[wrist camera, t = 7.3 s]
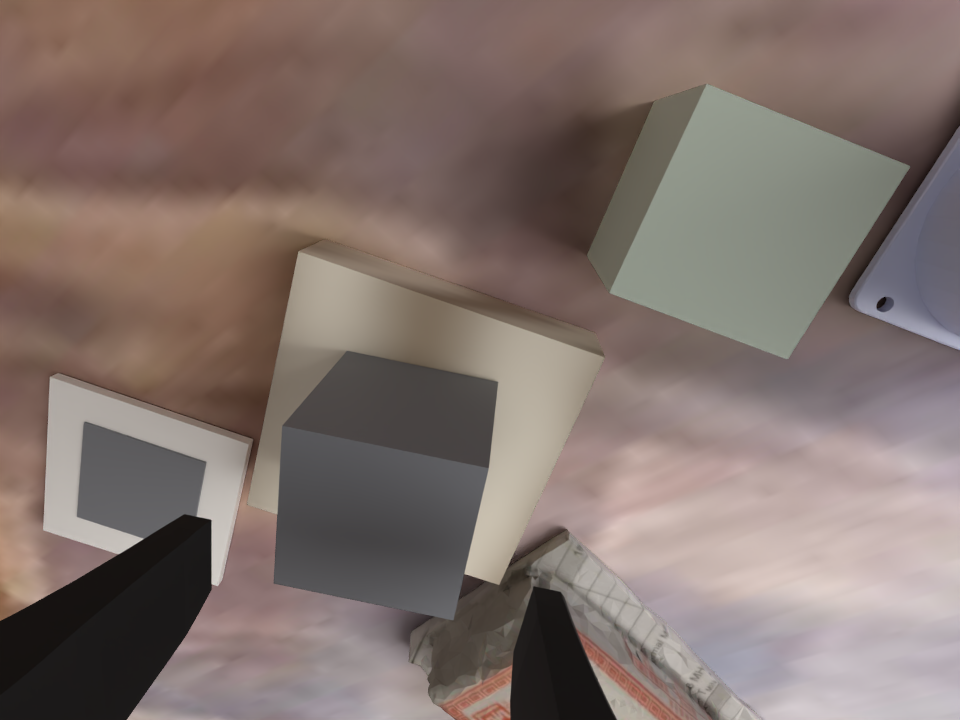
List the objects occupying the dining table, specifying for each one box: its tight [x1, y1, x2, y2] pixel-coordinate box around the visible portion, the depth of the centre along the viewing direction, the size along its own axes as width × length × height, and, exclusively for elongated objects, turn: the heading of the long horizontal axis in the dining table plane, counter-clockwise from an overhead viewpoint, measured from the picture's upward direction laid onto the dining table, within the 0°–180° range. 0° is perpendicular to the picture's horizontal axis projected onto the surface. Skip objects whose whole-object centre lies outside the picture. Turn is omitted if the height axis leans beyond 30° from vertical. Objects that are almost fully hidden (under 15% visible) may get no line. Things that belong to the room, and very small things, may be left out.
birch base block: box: [247, 239, 605, 585], centre depth 20 cm, size 10×10×3 cm
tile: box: [43, 373, 253, 586], centre depth 23 cm, size 8×8×1 cm
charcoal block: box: [274, 351, 498, 620], centre depth 16 cm, size 5×5×5 cm
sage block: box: [587, 84, 911, 360], centre depth 15 cm, size 5×5×5 cm
